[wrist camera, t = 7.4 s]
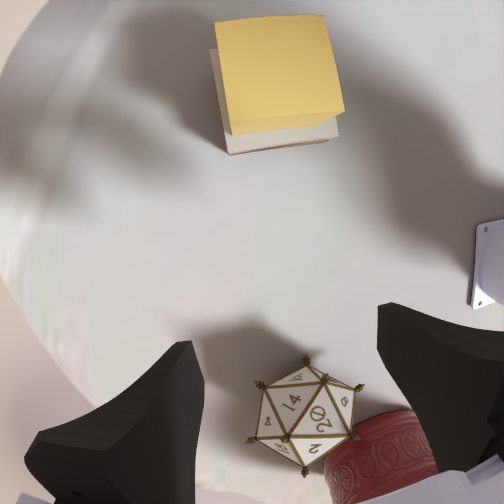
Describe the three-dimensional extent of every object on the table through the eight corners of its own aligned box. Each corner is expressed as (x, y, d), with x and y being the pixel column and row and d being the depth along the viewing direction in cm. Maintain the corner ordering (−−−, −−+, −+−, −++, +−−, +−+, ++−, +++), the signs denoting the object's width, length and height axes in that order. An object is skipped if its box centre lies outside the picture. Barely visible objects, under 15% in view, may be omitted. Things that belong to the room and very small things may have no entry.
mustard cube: (303, 50, 14) (323, 15, 10) (317, 125, 15) (344, 111, 11) (220, 58, 14) (214, 22, 10) (232, 136, 15) (229, 122, 11)
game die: (271, 355, 28) (210, 377, 19) (363, 341, 24) (343, 365, 15) (285, 442, 25) (233, 492, 17) (374, 435, 22) (356, 497, 13)
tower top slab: (309, 50, 16) (317, 37, 14) (328, 139, 17) (339, 136, 15) (212, 62, 16) (209, 49, 14) (229, 154, 18) (228, 152, 15)
